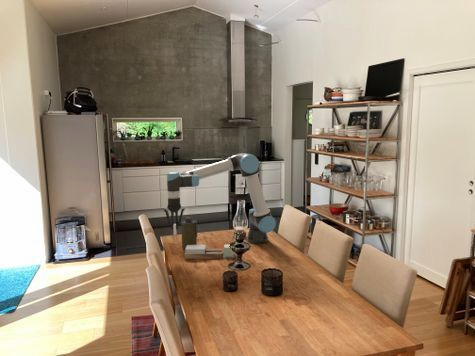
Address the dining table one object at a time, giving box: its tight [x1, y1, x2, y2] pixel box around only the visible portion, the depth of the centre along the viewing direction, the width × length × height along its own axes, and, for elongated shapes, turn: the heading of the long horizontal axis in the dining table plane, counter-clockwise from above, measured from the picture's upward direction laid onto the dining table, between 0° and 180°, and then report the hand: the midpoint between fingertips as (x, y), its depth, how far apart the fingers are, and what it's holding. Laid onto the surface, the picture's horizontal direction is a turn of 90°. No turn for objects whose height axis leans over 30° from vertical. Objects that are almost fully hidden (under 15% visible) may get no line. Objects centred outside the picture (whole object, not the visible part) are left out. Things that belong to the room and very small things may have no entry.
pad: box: [222, 252, 237, 259], centre depth 241 cm, size 10×8×1 cm
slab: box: [184, 244, 207, 255], centre depth 240 cm, size 9×12×3 cm
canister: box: [180, 216, 198, 249], centre depth 259 cm, size 11×10×20 cm
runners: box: [184, 248, 223, 260], centre depth 240 cm, size 9×23×3 cm, turn 91°
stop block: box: [223, 244, 235, 257], centre depth 240 cm, size 6×6×6 cm
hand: (175, 234), depth 238 cm, fingers closed
